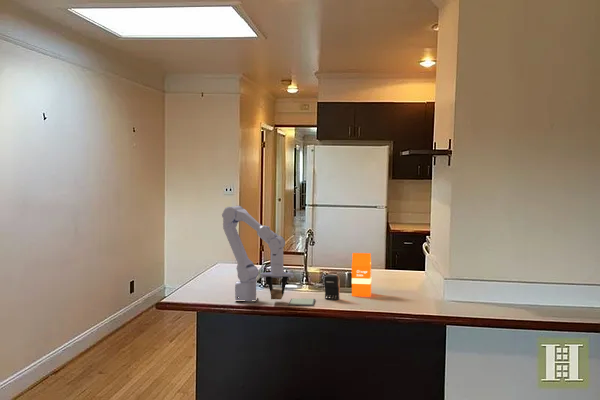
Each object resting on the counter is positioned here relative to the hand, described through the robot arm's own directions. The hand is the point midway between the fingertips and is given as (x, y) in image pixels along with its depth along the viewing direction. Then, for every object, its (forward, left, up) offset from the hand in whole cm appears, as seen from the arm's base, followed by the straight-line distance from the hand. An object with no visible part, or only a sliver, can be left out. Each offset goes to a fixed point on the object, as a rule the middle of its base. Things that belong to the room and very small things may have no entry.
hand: (277, 293), depth 234 cm
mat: (+11, +1, -4) cm, 12 cm away
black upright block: (+24, +8, -5) cm, 26 cm away
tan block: (0, 0, -2) cm, 2 cm away
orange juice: (+38, +19, -5) cm, 43 cm away
